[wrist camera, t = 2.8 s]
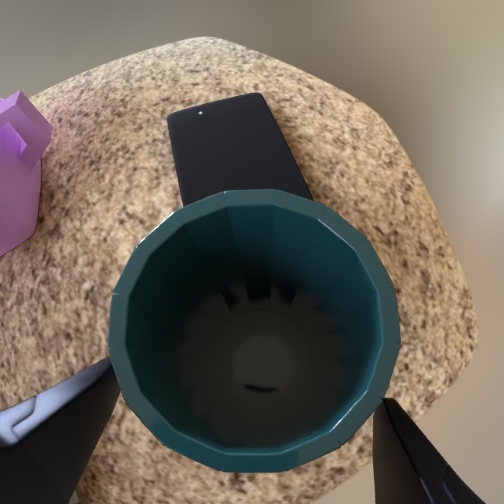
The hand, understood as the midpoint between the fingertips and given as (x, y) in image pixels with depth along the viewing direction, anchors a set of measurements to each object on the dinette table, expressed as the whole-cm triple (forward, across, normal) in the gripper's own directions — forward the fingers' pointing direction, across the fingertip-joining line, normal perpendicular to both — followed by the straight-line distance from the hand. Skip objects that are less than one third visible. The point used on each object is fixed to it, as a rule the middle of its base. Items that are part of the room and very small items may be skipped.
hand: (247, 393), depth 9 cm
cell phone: (+17, +4, -3) cm, 17 cm away
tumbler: (+8, 0, +5) cm, 9 cm away
